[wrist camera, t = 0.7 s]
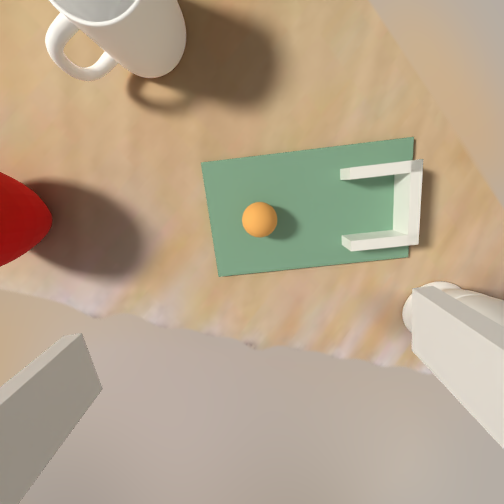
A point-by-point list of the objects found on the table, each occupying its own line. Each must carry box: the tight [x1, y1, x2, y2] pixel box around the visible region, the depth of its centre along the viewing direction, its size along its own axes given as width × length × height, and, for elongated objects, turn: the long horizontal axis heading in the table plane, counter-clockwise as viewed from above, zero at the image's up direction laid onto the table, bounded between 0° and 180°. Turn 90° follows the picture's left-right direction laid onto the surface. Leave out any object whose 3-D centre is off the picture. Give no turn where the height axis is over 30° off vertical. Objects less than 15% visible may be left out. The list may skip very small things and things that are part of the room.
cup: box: [46, 0, 186, 81], centre depth 22 cm, size 8×12×10 cm
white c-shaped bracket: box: [340, 159, 423, 251], centre depth 29 cm, size 9×7×3 cm
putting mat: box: [201, 137, 414, 277], centre depth 31 cm, size 14×24×1 cm, turn 96°
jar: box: [402, 281, 504, 333], centre depth 28 cm, size 11×10×15 cm
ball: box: [242, 202, 277, 237], centre depth 29 cm, size 4×4×4 cm
